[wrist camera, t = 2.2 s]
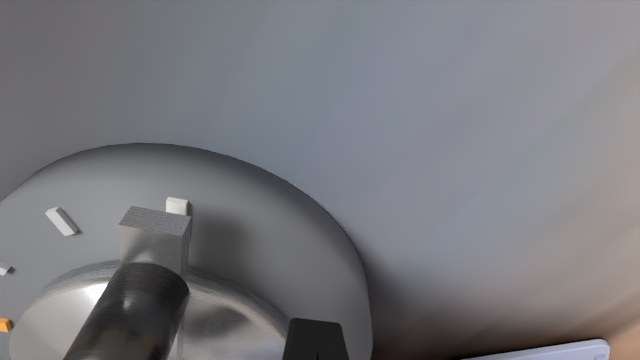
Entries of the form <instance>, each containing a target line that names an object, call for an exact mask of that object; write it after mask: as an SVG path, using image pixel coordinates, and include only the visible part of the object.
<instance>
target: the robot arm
mask: <svg viewBox="0 0 640 360" xmlns="http://www.w3.org/2000/svg"><path fill="white" fill-rule="evenodd" d="M609 355H610V346H609V345H608V343H607V341H605V340H603V339H594V340H587V341H580V342H574V343H567V344H561V345H554V346H547V347H541V348H534V349H528V350H521V351H514V352H508V353H501V354H495V355H488V356H481V357H475V358H468V359H462V360H609ZM282 360H349V356H348V352H347V348H346V344H345V340H344V336H343V331H342V326H341V325H340V324H339V323H336V322H328V321H319V320H311V319H303V318H293V319H291V320H290V323H289V328H288V333H287V338H286V342H285V347H284V352H283V357H282Z"/></svg>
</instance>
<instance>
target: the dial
mask: <svg viewBox="0 0 640 360" xmlns="http://www.w3.org/2000/svg"><path fill="white" fill-rule="evenodd" d="M190 226H191V216H185V215H180V214H174V213H169V212H163V211H158V210H152V209H147V208H142V207H136V206H131V207H130V208H129V210H128V211H127V213H126V214H125V216H124V217H123V219H122V220H121V222H120V223H119V225H118V228H119V242H120V256H121V260H115V261H106V262H100V263H95V264H90V265H87V266H83V267H80V268H76V269H74V270H72V271H69V272H67V273H65V274H63V275H61V276H59V277H58V278H56V279H55V280H53V281H52V282H50V283H49V284H48V285H47V286H46V287H45V288H44V289H43V290H42V291H41V292H40V293H39V294H38V295H37V297H36V298H35V299H34V301H33V302H32V303H31V304H30V306H29V307H28V308H27V310H26V311H25V312H24V314H23V315H22V316H21V318H20V319H19V320H18V322H17V323H16V325H15V327H14V328H13V330H12V333H11V336H10V340H9V353H10V357H11V360H282V357H283V352H284V347H285V342H286V338H287V333H288V328H289V324H288V322H287V321H286V320H285V319H284V318H283V317H282V315H281V314H280V313H279V312H278V311H277V310H276V309H275V308H273V307H272V306H271V305H270V304H269V303H267V302H266V301H265V300H264V299H262V298H261V297H259V296H258V295H256V294H255V293H253V292H252V291H250V290H248V289H247V288H245V287H243V286H241V285H239V284H237V283H235V282H233V281H231V280H228V279H226V278H223V277H221V276H219V275H216V274H214V273H210V272H207V271H204V270H201V269H197V268H194V267H190V266H188V258H189V242H190Z"/></svg>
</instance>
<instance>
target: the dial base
mask: <svg viewBox="0 0 640 360" xmlns="http://www.w3.org/2000/svg"><path fill="white" fill-rule="evenodd" d="M131 206H136V207H142V208H147V209H152V210H158V211H163V212H169V213H174V214H180V215H185V216H191V226H190V242H189V258H188V266H190V267H194V268H197V269H201V270H204V271H207V272H210V273H214V274H216V275H219V276H221V277H223V278H226V279H228V280H231V281H233V282H235V283H237V284H239V285H241V286H243V287H245V288H247V289H248V290H250V291H252V292H253V293H255V294H256V295H258V296H259V297H261V298H262V299H264V300H265V301H266V302H267V303H269V304H270V305H271V306H272V307H273V308H275V309H276V310H277V311H278V312H279V313H280V314H281V315H282V317H283V318H284V319H285V320H286V321H287V322H288V324H289V323H290V320H291V319H293V318H303V319H311V320H319V321H328V322H336V323H339V324H340V325H341V326H342V331H343V336H344V340H345V344H346V348H347V352H348V356H349V360H371V354H372V348H373V338H372V324H371V315H370V305H369V296H368V287H367V280H366V276H365V272H364V268H363V264H362V262H361V260H360V258H359V255H358V253H357V251H356V249H355V247H354V245H353V244H352V242H351V241H350V239H349V238H348V236H347V235H346V233H345V231H344V230H343V229H342V228H341V227H340V225H339V224H338V223H337V222H336V221H335V220H334V219H333V218H332V217H331V215H330V214H329V213H328V212H327V211H326V210H324V209H323V208H322V207H321V206H320V205H319V204H317V203H316V202H315V201H314V200H313V199H312V198H310V197H309V196H308V195H306V194H305V193H303V192H302V191H300V190H299V189H297V188H296V187H294V186H293V185H291V184H290V183H288V182H287V181H285V180H283V179H281V178H279V177H277V176H275V175H273V174H271V173H269V172H267V171H265V170H263V169H261V168H260V167H257V166H254V165H252V164H249V163H246V162H244V161H241V160H238V159H236V158H233V157H230V156H227V155H223V154H219V153H215V152H211V151H207V150H203V149H199V148H192V147H186V146H179V145H172V144H154V143H131V144H119V145H108V146H103V147H98V148H94V149H89V150H85V151H80V152H78V153H75V154H72V155H69V156H67V157H64V158H61V159H59V160H56V161H54V162H53V163H51V164H49V165H47V166H46V167H44V168H42V169H40V170H39V171H37V172H35V173H34V174H33V175H32V176H31V177H30V178H28V179H27V180H26V181H25V182H24V183H22V184H21V185H20V186H19V187H18V188H17V189H16V190H14V191H13V192H12V193H11V194H10V195H9V196H8V197H6V198H5V199H4V200H3V201H2V202H1V203H0V360H11V357H10V353H9V340H10V336H11V333H12V330H13V328H14V327H15V325H16V323H17V322H18V320H19V319H20V318H21V316H22V315H23V314H24V312H25V311H26V310H27V308H28V307H29V306H30V304H31V303H32V302H33V301H34V299H35V298H36V297H37V295H38V294H39V293H40V292H41V291H42V290H43V289H44V288H45V287H46V286H47V285H48V284H49V283H50V282H52V281H53V280H55V279H56V278H58V277H59V276H61V275H63V274H65V273H67V272H69V271H72V270H74V269H76V268H80V267H83V266H87V265H90V264H95V263H100V262H106V261H115V260H121V256H120V242H119V228H118V225H119V223H120V222H121V220H122V219H123V217H124V216H125V214H126V213H127V211H128V210H129V208H130V207H131Z"/></svg>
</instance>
